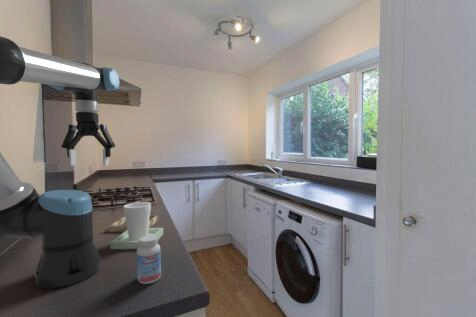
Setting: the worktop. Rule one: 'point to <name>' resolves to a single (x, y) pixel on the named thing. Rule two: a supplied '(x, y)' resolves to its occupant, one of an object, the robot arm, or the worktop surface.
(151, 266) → the pill bottle
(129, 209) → the foam cup
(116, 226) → the holder
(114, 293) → the worktop surface
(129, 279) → the worktop surface
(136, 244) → the tray
